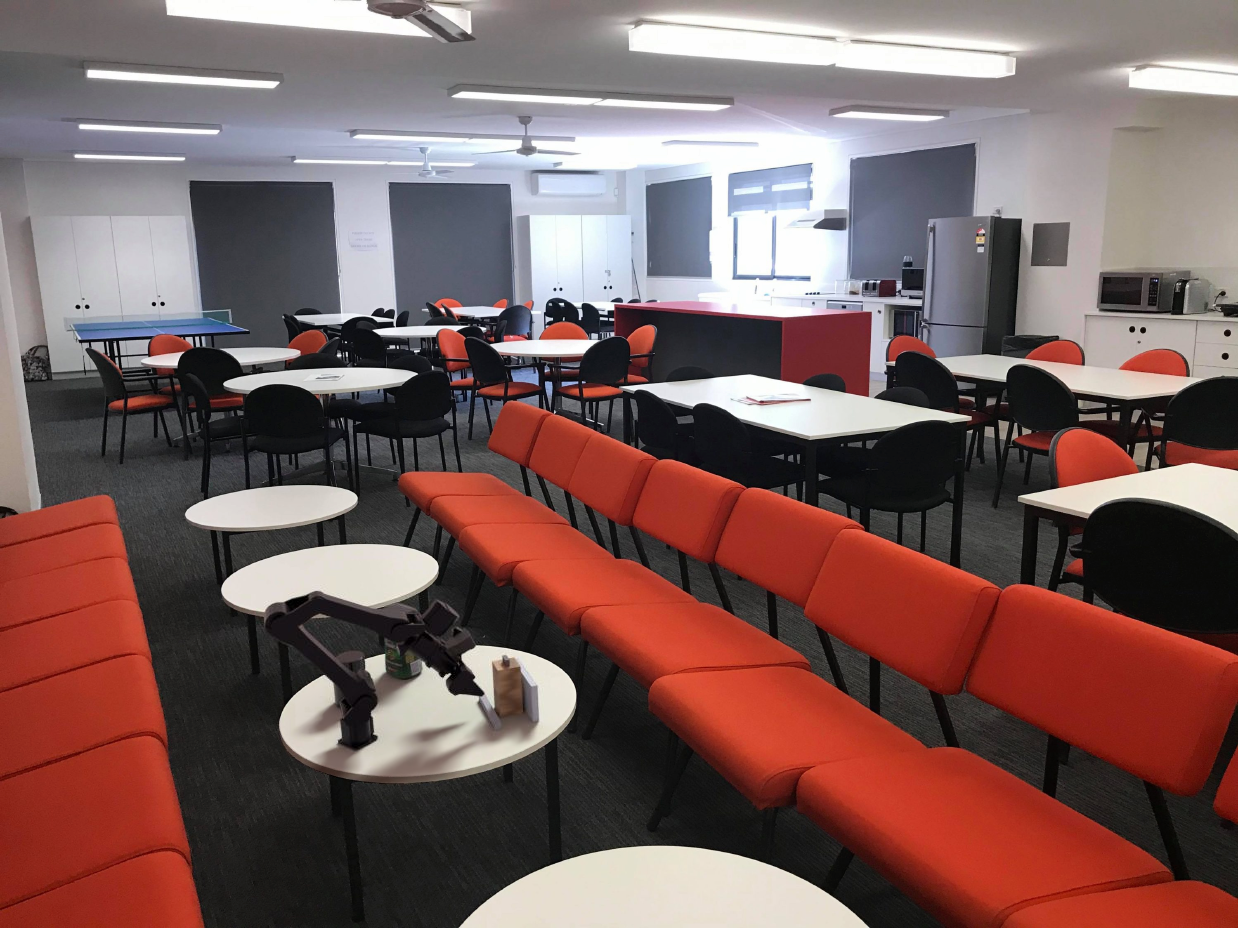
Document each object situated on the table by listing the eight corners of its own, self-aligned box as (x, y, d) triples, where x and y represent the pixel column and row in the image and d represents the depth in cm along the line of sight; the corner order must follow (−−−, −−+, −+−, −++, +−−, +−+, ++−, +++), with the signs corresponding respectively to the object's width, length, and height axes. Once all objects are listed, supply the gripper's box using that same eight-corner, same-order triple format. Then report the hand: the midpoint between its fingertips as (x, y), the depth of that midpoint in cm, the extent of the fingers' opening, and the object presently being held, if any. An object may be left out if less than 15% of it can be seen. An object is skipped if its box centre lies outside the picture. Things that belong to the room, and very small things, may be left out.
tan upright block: (500, 717, 220) (497, 664, 217) (494, 707, 225) (491, 655, 222) (522, 712, 222) (520, 659, 219) (516, 702, 227) (514, 650, 224)
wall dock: (495, 729, 214) (493, 693, 212) (479, 699, 228) (476, 665, 226) (539, 720, 218) (537, 685, 216) (520, 691, 232) (518, 658, 230)
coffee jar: (380, 672, 245) (374, 606, 241) (405, 662, 251) (400, 597, 246) (403, 682, 239) (397, 614, 234) (428, 672, 244) (423, 605, 240)
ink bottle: (381, 697, 231) (377, 652, 228) (356, 713, 223) (352, 667, 221) (351, 690, 235) (347, 646, 233) (326, 705, 228) (321, 660, 225)
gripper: (461, 637, 205) (512, 675, 211) (444, 609, 222) (491, 645, 228) (427, 676, 204) (479, 714, 210) (413, 645, 221) (461, 680, 227)
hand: (478, 686), depth 219 cm, fingers open, 9 cm apart
